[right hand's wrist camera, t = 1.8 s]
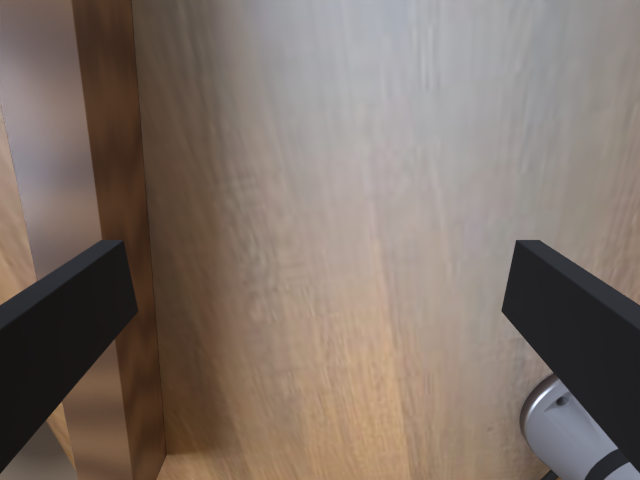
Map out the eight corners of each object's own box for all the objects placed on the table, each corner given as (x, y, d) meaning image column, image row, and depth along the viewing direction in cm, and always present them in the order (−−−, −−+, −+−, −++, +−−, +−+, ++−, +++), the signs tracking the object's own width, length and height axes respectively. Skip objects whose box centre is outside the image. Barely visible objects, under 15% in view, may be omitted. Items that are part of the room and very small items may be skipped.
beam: (166, 455, 47) (138, 521, 39) (122, 452, 46) (85, 517, 39) (116, -199, 25) (31, -323, 17) (30, -210, 24) (-92, -340, 17)
